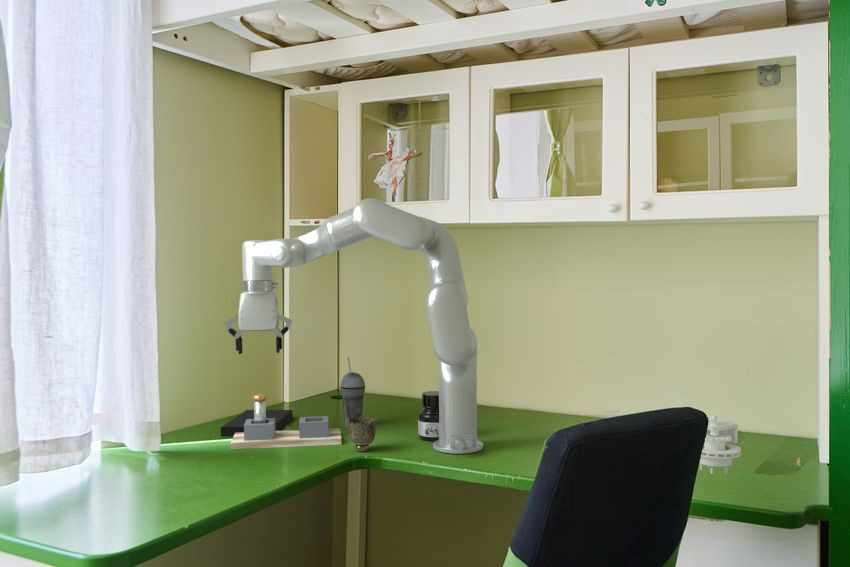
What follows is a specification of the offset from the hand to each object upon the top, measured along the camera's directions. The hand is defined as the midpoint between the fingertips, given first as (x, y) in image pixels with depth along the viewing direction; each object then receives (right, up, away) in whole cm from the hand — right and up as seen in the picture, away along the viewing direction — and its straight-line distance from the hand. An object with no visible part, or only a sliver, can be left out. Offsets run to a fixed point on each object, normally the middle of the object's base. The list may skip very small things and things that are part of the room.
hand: (259, 352), depth 201 cm
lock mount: (+14, -22, +3) cm, 26 cm away
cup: (+28, -24, -8) cm, 37 cm away
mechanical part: (+108, -24, -28) cm, 114 cm away
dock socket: (0, -22, +1) cm, 22 cm away
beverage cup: (+23, -23, +18) cm, 37 cm away
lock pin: (0, -22, +1) cm, 22 cm away
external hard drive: (-4, -24, +19) cm, 31 cm away
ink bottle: (+46, -23, +4) cm, 52 cm away
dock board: (+7, -24, +2) cm, 25 cm away
